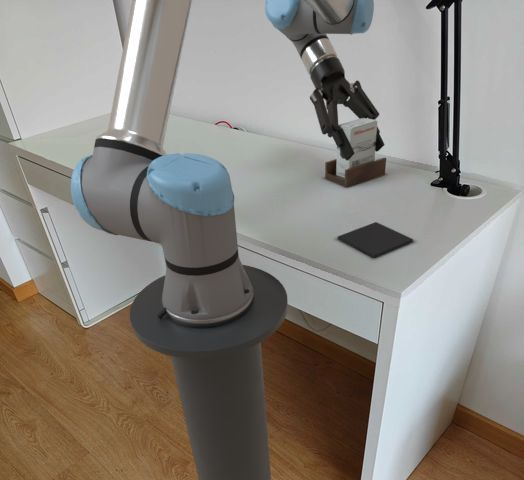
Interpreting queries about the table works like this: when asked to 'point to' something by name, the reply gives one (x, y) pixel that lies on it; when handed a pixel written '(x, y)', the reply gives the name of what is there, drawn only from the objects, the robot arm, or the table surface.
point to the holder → (355, 172)
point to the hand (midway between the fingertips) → (365, 152)
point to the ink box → (357, 144)
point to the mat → (375, 239)
